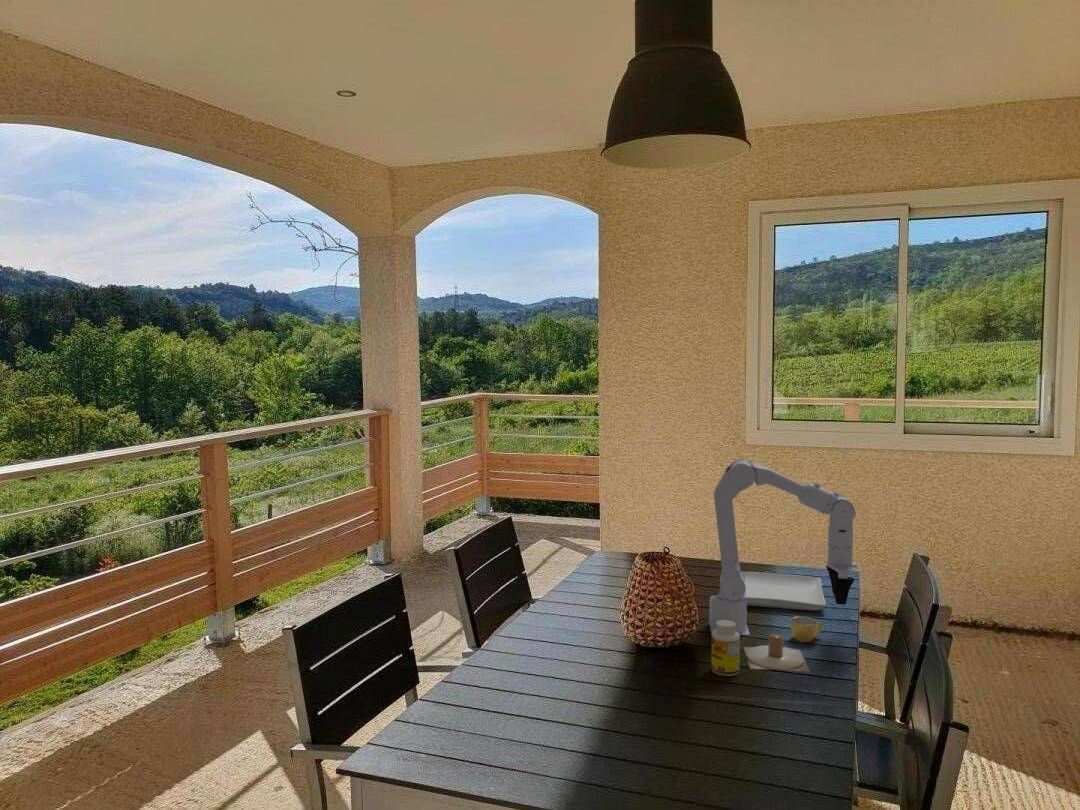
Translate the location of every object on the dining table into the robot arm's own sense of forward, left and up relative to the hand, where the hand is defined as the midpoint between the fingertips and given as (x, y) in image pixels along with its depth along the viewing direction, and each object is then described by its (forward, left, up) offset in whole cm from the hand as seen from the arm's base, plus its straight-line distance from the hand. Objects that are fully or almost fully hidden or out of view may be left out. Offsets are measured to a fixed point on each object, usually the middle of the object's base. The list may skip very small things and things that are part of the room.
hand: (839, 599), depth 191 cm
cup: (-9, -3, -11) cm, 14 cm away
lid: (-18, -17, -9) cm, 26 cm away
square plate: (-11, +33, -11) cm, 36 cm away
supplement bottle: (-30, -25, -10) cm, 40 cm away
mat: (-18, -17, -10) cm, 26 cm away
